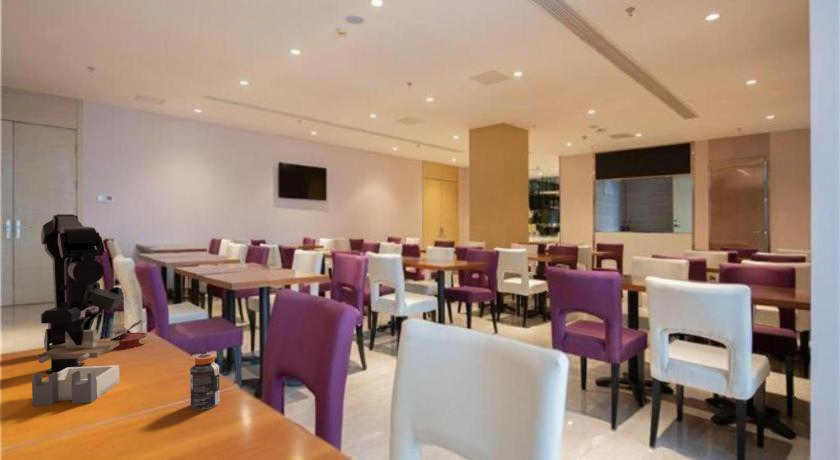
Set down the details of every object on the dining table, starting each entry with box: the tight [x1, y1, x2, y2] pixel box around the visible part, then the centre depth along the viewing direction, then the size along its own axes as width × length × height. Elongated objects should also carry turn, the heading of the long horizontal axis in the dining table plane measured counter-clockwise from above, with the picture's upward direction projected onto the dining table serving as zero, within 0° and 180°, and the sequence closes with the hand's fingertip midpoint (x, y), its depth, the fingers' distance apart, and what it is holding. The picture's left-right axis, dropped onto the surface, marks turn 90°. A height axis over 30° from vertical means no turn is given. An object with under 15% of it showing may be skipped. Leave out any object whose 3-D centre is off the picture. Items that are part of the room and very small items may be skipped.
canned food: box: [110, 319, 147, 351], centre depth 145 cm, size 11×10×10 cm
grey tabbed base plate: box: [38, 329, 119, 364], centre depth 105 cm, size 12×12×5 cm
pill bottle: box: [189, 353, 220, 411], centre depth 100 cm, size 6×6×11 cm
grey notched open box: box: [31, 364, 120, 407], centre depth 105 cm, size 12×12×7 cm
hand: (81, 343), depth 106 cm, fingers closed on grey tabbed base plate
